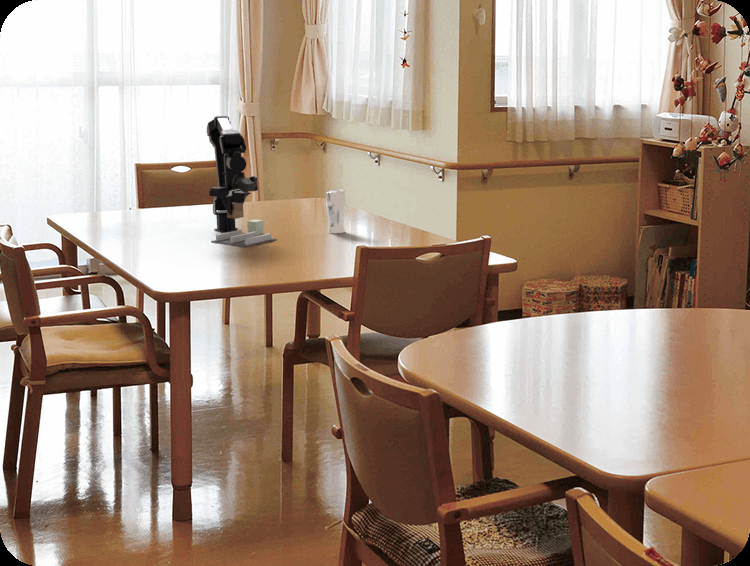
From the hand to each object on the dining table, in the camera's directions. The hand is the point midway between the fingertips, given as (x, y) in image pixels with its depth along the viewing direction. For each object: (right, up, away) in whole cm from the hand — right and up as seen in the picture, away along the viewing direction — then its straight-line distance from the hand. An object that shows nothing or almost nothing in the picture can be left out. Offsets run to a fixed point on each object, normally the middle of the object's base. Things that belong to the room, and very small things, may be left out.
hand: (235, 213), depth 332 cm
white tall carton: (+35, -6, +14) cm, 38 cm away
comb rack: (+3, -9, 0) cm, 10 cm away
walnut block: (0, -1, 0) cm, 1 cm away
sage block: (+6, -6, +13) cm, 15 cm away
